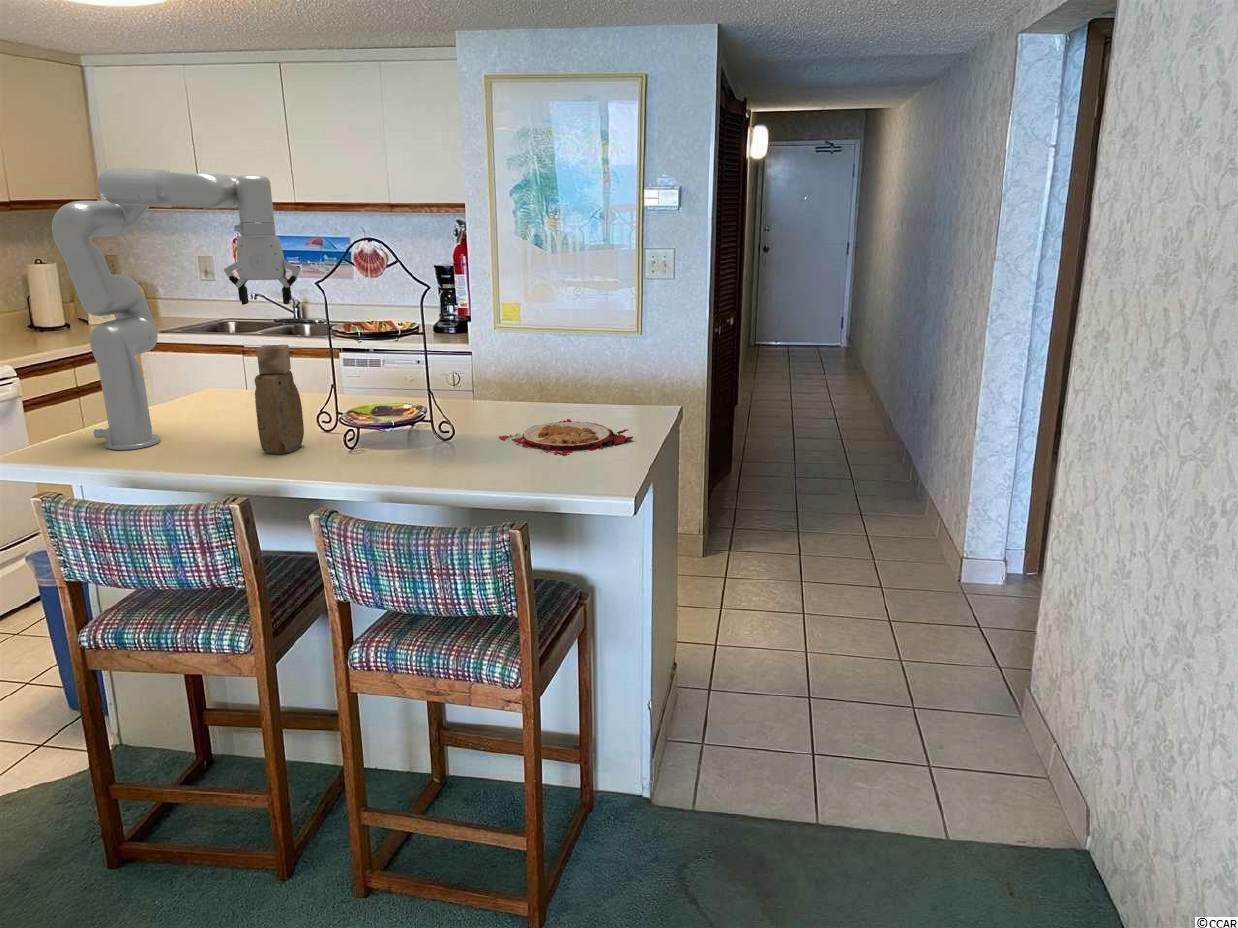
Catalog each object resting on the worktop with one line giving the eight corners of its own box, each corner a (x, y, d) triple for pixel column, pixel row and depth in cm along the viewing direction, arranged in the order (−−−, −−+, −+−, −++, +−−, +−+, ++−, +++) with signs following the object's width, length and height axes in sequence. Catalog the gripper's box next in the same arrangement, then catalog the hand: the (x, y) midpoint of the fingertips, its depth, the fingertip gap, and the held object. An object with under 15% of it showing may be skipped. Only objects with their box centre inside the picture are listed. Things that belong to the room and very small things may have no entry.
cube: (259, 373, 214) (256, 349, 212) (265, 369, 220) (263, 345, 218) (285, 373, 215) (282, 348, 213) (290, 368, 220) (288, 344, 219)
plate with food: (569, 426, 250) (568, 413, 249) (634, 441, 231) (633, 428, 230) (497, 442, 234) (496, 429, 233) (560, 461, 215) (559, 447, 214)
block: (283, 456, 217) (274, 376, 211) (257, 454, 219) (247, 374, 213) (310, 445, 227) (302, 368, 221) (285, 443, 229) (276, 366, 223)
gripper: (214, 231, 204) (223, 306, 209) (292, 231, 206) (299, 305, 211) (225, 230, 211) (233, 302, 216) (299, 230, 213) (306, 302, 218)
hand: (266, 304), depth 213 cm, fingers open, 9 cm apart
